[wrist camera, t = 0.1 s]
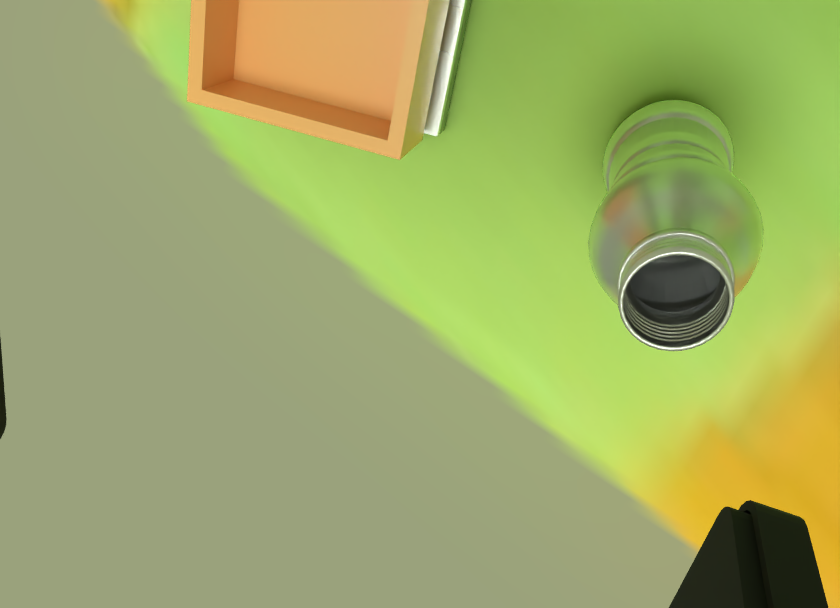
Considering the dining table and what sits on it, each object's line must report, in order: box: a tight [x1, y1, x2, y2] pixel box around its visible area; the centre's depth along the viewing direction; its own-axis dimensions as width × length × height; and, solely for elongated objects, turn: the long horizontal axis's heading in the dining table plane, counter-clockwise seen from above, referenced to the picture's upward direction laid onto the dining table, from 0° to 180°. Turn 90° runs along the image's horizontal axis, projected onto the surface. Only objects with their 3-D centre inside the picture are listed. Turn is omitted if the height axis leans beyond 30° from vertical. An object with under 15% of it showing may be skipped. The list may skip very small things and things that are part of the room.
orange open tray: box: [187, 0, 450, 160], centre depth 39 cm, size 12×12×6 cm
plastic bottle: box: [588, 100, 764, 351], centre depth 33 cm, size 6×7×20 cm
